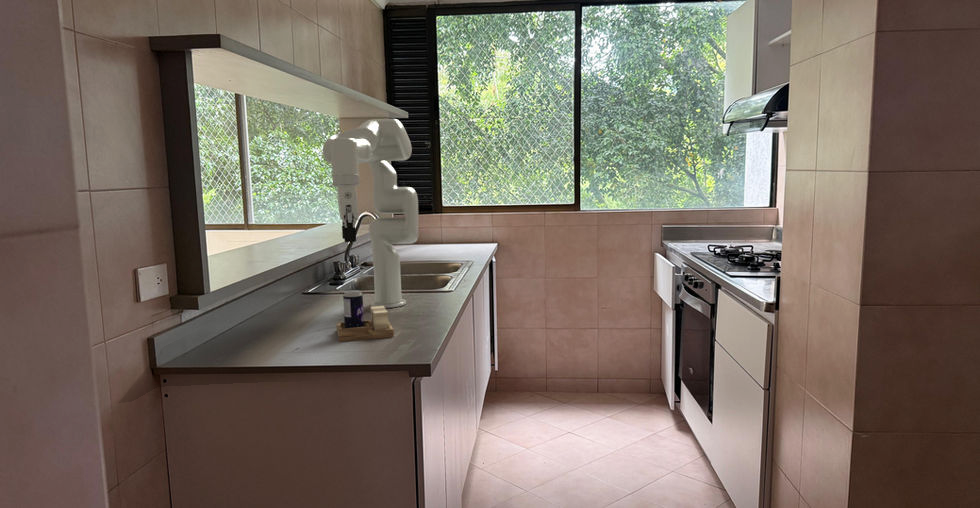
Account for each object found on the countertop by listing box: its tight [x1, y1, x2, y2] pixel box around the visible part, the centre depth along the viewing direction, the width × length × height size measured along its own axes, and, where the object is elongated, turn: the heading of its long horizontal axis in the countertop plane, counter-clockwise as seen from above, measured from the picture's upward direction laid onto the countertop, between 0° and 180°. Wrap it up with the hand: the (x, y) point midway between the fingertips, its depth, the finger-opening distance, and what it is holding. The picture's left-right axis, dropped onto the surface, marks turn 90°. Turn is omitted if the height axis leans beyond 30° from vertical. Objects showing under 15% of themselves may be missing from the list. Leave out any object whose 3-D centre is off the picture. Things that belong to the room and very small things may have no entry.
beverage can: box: [342, 289, 365, 328], centre depth 193 cm, size 6×6×12 cm
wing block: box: [370, 306, 389, 330], centre depth 195 cm, size 10×4×6 cm, turn 16°
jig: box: [336, 319, 395, 343], centre depth 194 cm, size 14×16×3 cm
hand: (349, 240), depth 190 cm, fingers open, 9 cm apart
